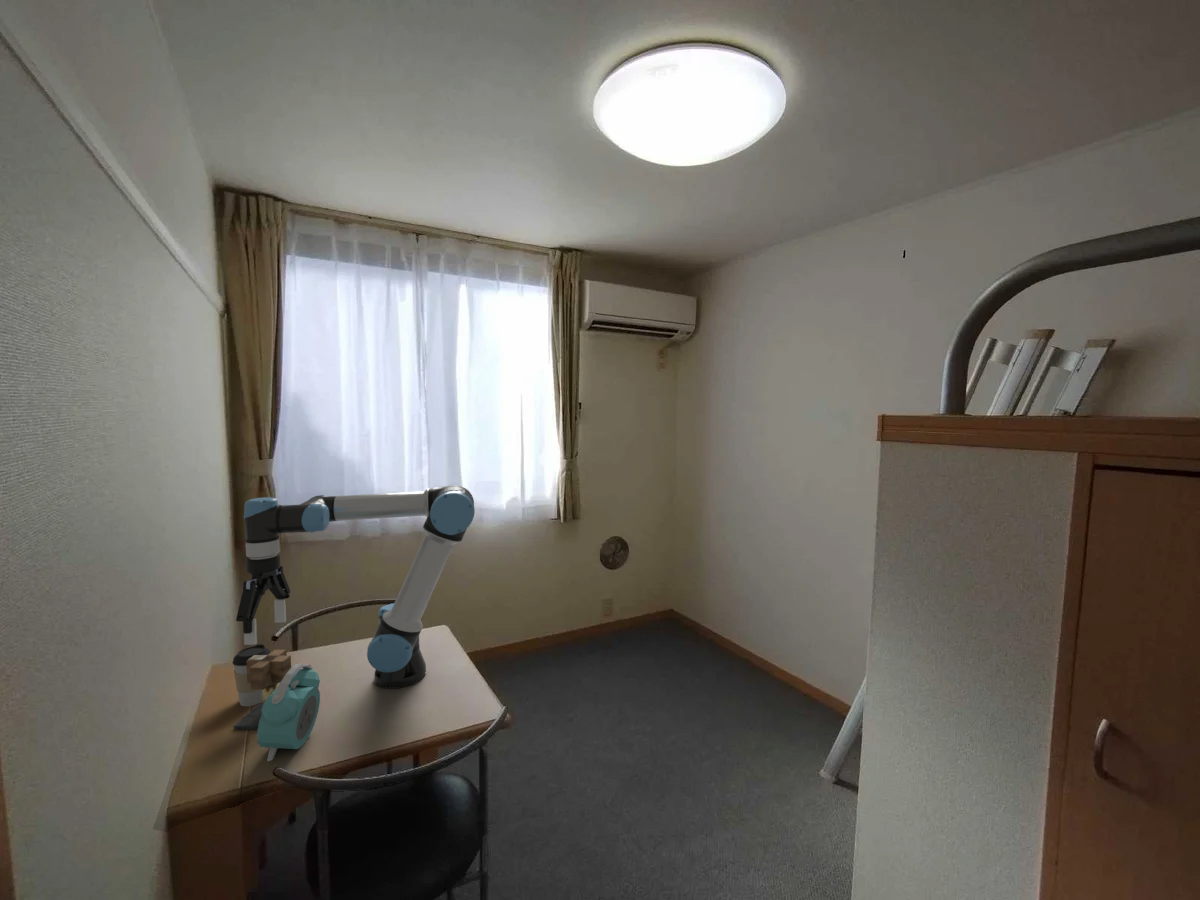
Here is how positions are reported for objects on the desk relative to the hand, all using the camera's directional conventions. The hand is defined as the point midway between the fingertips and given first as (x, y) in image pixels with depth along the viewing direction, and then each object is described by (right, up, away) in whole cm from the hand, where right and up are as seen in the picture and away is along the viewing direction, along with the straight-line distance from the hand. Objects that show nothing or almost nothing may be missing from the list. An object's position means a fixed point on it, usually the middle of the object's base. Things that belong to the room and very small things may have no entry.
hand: (266, 632), depth 134 cm
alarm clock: (+13, -25, -10) cm, 30 cm away
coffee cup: (-10, -23, +10) cm, 27 cm away
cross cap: (0, -14, +1) cm, 14 cm away
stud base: (0, -24, +2) cm, 24 cm away
